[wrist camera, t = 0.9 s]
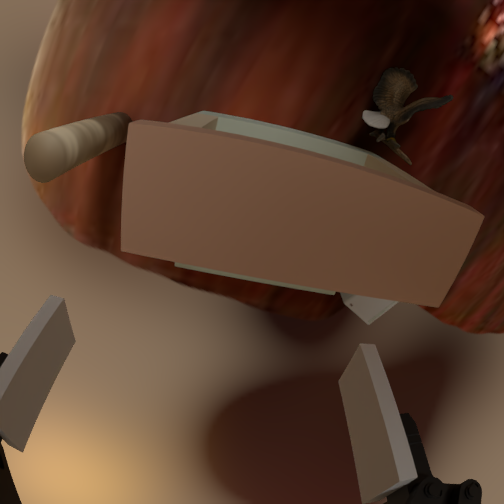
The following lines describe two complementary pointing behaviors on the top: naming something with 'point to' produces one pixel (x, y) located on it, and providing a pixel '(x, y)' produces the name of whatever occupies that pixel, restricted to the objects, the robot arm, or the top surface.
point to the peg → (73, 145)
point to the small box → (367, 306)
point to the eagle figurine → (396, 106)
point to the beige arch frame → (289, 213)
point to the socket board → (292, 139)
